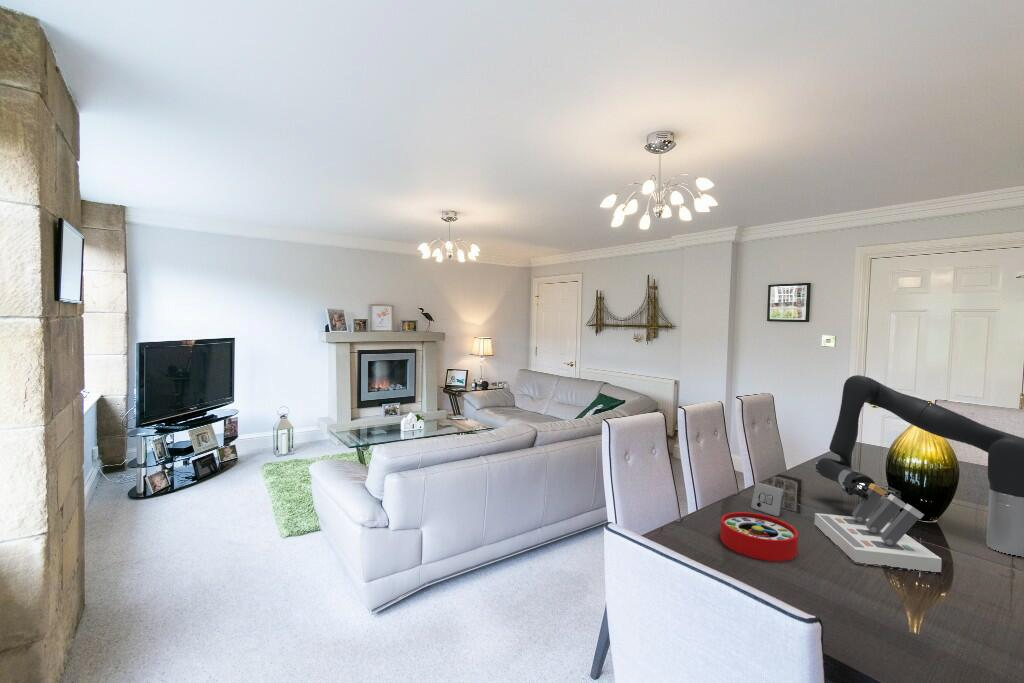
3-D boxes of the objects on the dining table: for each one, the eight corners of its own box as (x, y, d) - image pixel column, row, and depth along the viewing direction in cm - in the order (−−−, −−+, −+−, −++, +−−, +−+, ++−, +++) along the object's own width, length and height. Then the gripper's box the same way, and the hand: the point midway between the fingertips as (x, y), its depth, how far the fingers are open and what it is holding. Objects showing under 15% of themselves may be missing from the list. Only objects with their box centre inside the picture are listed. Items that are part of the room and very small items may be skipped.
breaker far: (888, 544, 131) (918, 511, 129) (893, 548, 129) (924, 514, 127) (877, 536, 132) (906, 503, 130) (882, 540, 129) (912, 506, 127)
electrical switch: (750, 508, 166) (752, 482, 166) (757, 507, 169) (760, 481, 169) (777, 517, 159) (780, 490, 159) (785, 516, 162) (787, 489, 162)
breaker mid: (872, 532, 139) (901, 501, 137) (877, 536, 136) (906, 504, 135) (862, 525, 140) (890, 493, 138) (867, 528, 137) (895, 496, 135)
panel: (884, 532, 149) (885, 518, 149) (940, 574, 123) (941, 557, 123) (814, 525, 153) (815, 512, 153) (854, 564, 127) (855, 548, 127)
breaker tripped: (859, 521, 147) (881, 488, 145) (864, 524, 144) (886, 491, 143) (849, 515, 147) (870, 482, 146) (853, 518, 145) (875, 485, 143)
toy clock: (716, 529, 134) (725, 507, 151) (715, 549, 135) (724, 525, 152) (797, 547, 124) (798, 522, 141) (797, 569, 124) (797, 541, 141)
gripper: (832, 469, 160) (856, 483, 144) (880, 473, 157) (910, 488, 141) (831, 491, 160) (855, 508, 144) (879, 496, 157) (909, 513, 141)
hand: (882, 498), depth 142 cm, fingers open, 8 cm apart
